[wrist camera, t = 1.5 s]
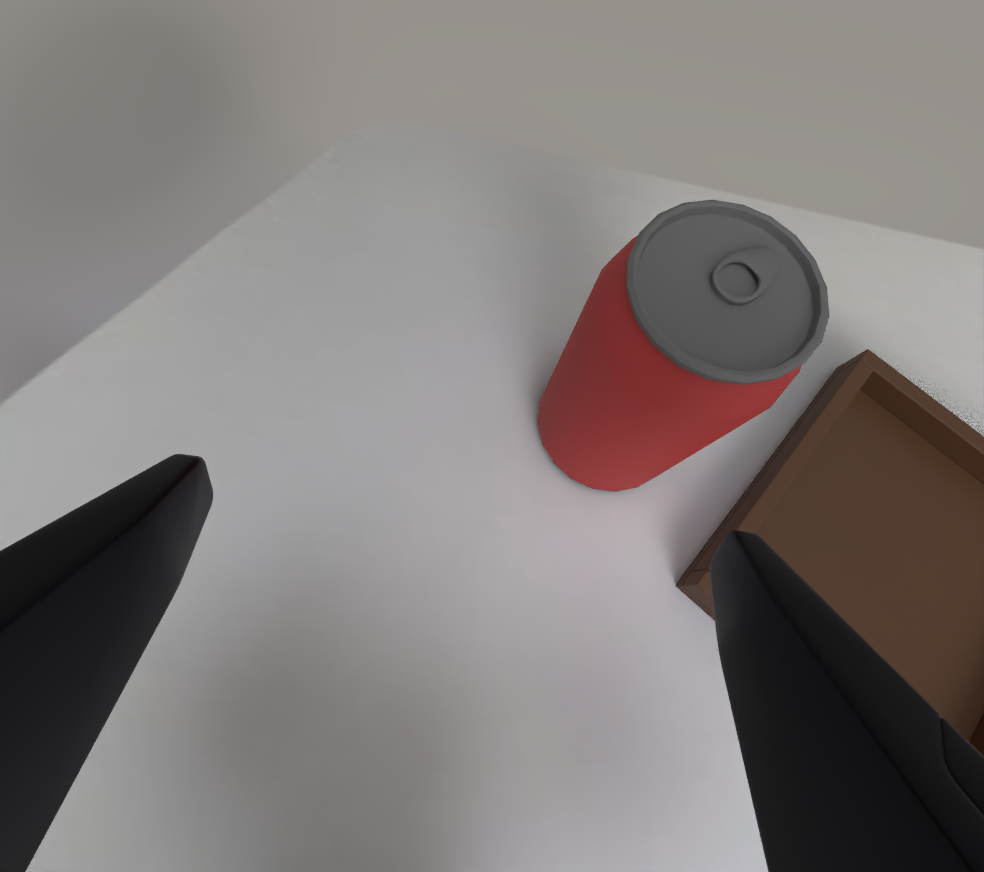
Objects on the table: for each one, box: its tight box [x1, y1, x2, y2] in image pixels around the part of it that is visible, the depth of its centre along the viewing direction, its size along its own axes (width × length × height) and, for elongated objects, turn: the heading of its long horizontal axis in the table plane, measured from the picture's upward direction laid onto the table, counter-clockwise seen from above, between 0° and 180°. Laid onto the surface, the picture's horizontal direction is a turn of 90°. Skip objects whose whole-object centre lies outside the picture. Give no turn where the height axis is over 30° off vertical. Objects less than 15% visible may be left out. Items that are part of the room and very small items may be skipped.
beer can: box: [538, 200, 829, 491], centre depth 20 cm, size 7×7×12 cm
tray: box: [676, 349, 984, 756], centre depth 24 cm, size 15×14×2 cm
